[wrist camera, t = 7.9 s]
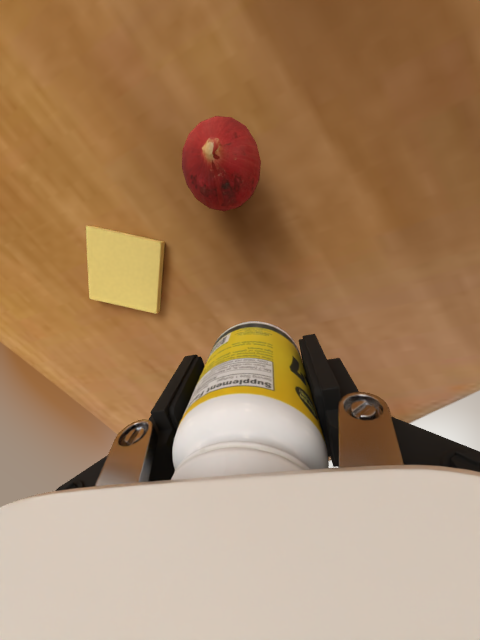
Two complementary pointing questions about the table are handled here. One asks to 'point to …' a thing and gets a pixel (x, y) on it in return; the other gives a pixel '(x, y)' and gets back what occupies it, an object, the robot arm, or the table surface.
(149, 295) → the sticky note pad
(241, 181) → the onion
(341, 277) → the table surface
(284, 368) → the supplement bottle
